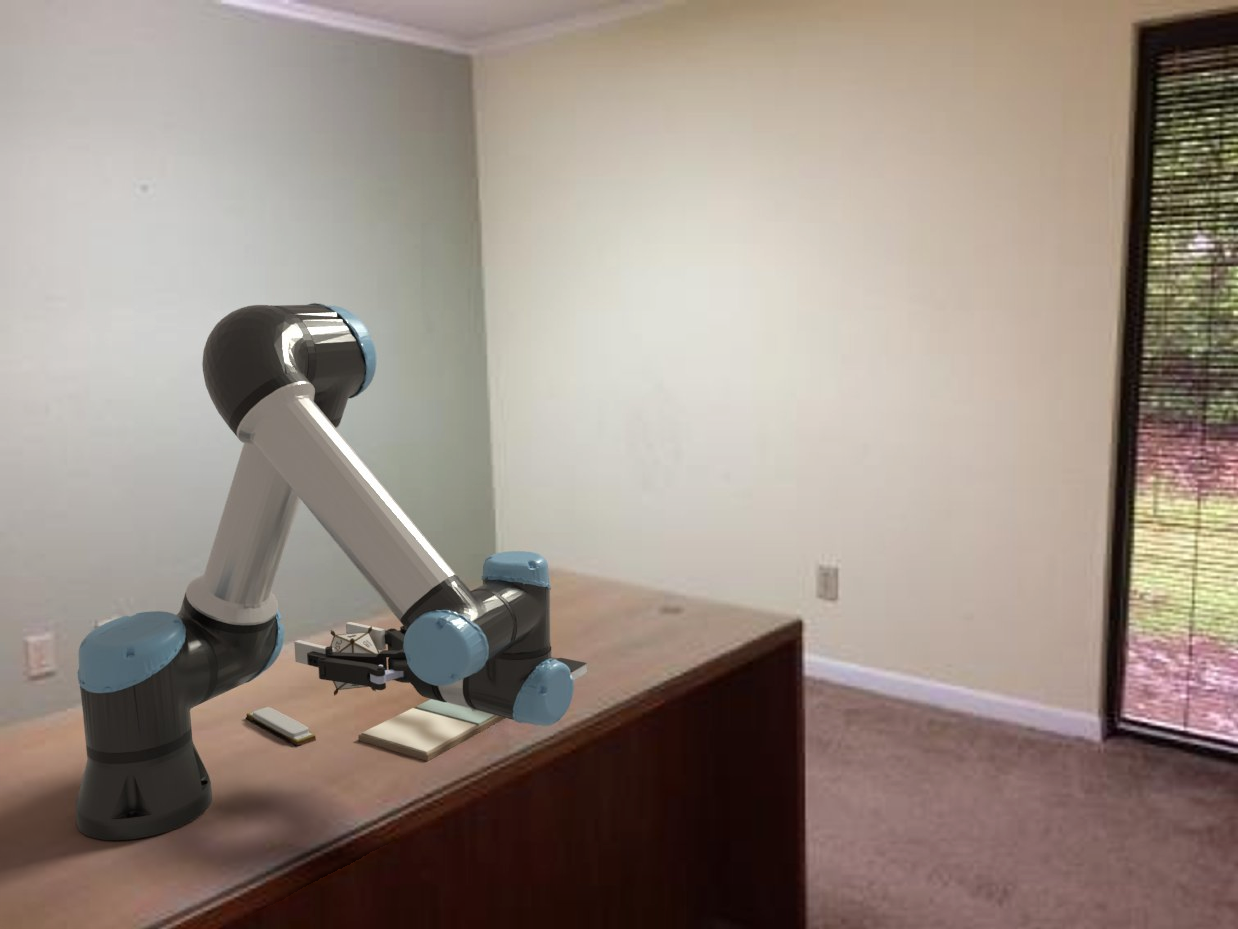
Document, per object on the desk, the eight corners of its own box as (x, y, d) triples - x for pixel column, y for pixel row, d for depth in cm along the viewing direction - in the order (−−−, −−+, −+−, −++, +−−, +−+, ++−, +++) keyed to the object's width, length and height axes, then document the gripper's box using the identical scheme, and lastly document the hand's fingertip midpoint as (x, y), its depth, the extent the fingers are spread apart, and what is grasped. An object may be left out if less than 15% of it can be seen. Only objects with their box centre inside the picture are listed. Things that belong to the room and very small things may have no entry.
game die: (362, 721, 135) (361, 678, 128) (306, 694, 136) (302, 650, 130) (399, 670, 141) (400, 626, 134) (345, 644, 143) (343, 600, 136)
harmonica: (245, 721, 154) (244, 709, 154) (264, 715, 156) (263, 703, 156) (296, 750, 144) (295, 737, 144) (316, 743, 147) (315, 730, 146)
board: (427, 761, 140) (427, 753, 139) (358, 740, 146) (358, 732, 146) (525, 706, 158) (525, 699, 158) (460, 690, 165) (460, 683, 165)
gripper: (395, 732, 117) (260, 694, 129) (509, 674, 134) (381, 645, 146) (392, 668, 116) (256, 636, 127) (507, 619, 133) (379, 594, 145)
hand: (323, 641), depth 137 cm, fingers closed on game die, 8 cm apart
